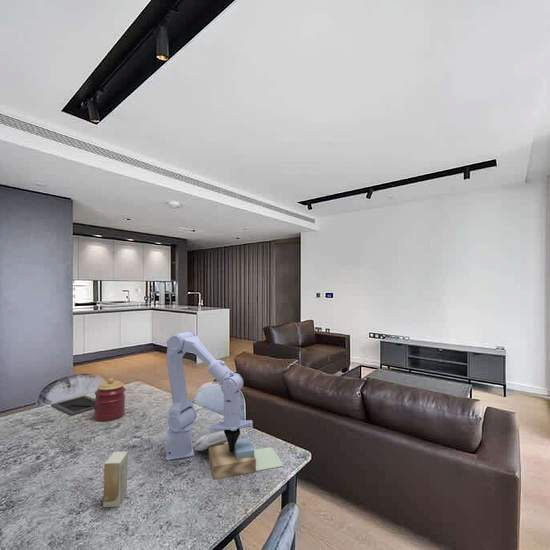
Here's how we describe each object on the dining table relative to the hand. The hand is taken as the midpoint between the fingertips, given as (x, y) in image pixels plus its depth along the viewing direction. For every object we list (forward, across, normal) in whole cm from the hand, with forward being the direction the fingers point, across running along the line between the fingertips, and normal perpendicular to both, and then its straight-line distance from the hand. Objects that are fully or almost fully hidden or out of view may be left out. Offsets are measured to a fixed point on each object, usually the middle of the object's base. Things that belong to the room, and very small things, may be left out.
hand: (231, 450), depth 108 cm
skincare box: (+5, -35, -8) cm, 36 cm away
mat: (+5, +12, 0) cm, 13 cm away
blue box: (+1, +4, 0) cm, 4 cm away
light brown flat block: (+5, 0, 0) cm, 5 cm away
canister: (+5, -47, +57) cm, 74 cm away
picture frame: (+5, -64, +75) cm, 99 cm away
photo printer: (+1, +1, +13) cm, 13 cm away
